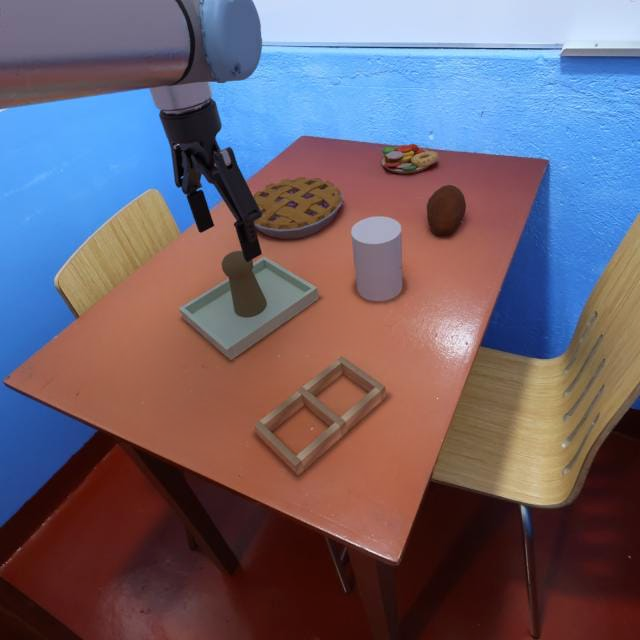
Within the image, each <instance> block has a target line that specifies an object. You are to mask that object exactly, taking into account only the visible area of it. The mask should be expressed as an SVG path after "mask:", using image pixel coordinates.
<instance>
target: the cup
mask: <svg viewBox="0 0 640 640" xmlns="http://www.w3.org/2000/svg"><path fill="white" fill-rule="evenodd" d="M350 235H351V245H352V254H353V263H354V264H353V265H354V272H355V282H356V290H357V293H358V295H359V296H360V297H361V298H363V299H365V300H367V301H370V302H385V301H390V300H392V299H394V298H396V297H397V296H399V295H400V294H401V293H402V291H403V245H402V243H403V242H402V241H403V239H402V225H401V224H400V222H399V221H398V220H396V219H394V218H392V217H389V216H378V215H377V216H376V215H375V216H369V217H366V218H363V219H361V220H359V221H357V222H356V223H355V224H354V225H353V226H352V227H351V230H350Z"/></svg>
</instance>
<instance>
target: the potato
mask: <svg viewBox="0 0 640 640" xmlns="http://www.w3.org/2000/svg"><path fill="white" fill-rule="evenodd" d="M466 210H467V203H466V197H465V195H464V194H463V192H462V191H461V189H460V188H458V187H457V186H455V185H452V184H447V185H443V186H440V187H439V188H438V189H437V190H435V191H434V192H433V194H431V196H430V197H429V198H428V201H427V203H426V218H427V223H428V225H429V227H430V229H431V230H432V231H433V233H434V234H435V235H438V236H446V235H448V234H450V233H451V232H453V231H454V230H455V229H456V228H457V227H458V225H459V224H460V223H461V221H463V217H464V216H465V214H466Z"/></svg>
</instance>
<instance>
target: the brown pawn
mask: <svg viewBox="0 0 640 640" xmlns="http://www.w3.org/2000/svg"><path fill="white" fill-rule="evenodd" d="M253 263H254V261H253V259H252V260H251V261H249V262H246V261H245V259H244V256H243V252H242V250H237V251H236V250H235V251H232V252H229V253H227V254H226V255H225V256H224V257H223V259H222V261H221V269H222V272H223V274H224V276H226V277H227V278H229V283H230V289H231V295H232V300H233V306H234V312H235V313H236V314H237V315H238V316H240V317H253V316H256V315H258V314H260V313H261V312H263V311H264V309H265V308H266V306H267V301H266V299H265V297H264V294H263V292H262V290H261V288H260V286H259V284H258V282H257V280H256V277H255V275H254V273H253V271H252V269H253Z"/></svg>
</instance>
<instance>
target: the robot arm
mask: <svg viewBox="0 0 640 640" xmlns="http://www.w3.org/2000/svg"><path fill="white" fill-rule="evenodd" d="M262 49H263V38H262V24H261V19H260V15H259V12H258V9H257V7H256V4H255V3H254V0H0V110H7V109H14V108H20V107H27V106H28V107H29V106H35V105H43V104H48V103H57V102H64V101H71V100H76V99H77V100H78V99H84V98H92V97H99V96H104V95H105V96H106V95H113V94H119V93H126V92H127V93H128V92H134V91H140V90H147V89H148V90H149V93H150V95H151V97H152V101H153V104H154V107H155V108H156V109H158V110H159V113H158V116H159V120H160V123H161V125H162V128H163V131H164V134H165V137H166V139H167V142H168V144H169V147H170V154H171V162H172V170H173V178H174V185H175V187H176V188H178V189H180V188H181V192H182V193H183V194H184V195H185V198H186V200H187V203H188V205H189V208H190V211H191V214H192V217H193V221H194V223H195V224H196V229H197V231H198V232H199V233H200V234H202V233H204V232H206V231H208V230H210V229H211V228H213V227H215V223H214V220H213V217H212V214H211V211H210V208H209V205H208V202H207V199H206V196H205V192H204V190H202V189H201V188H203V184H202V183H201V179H202V175H203V177H204V179H205V180H206V182H207V183H208V184H211V185H213V187H214V188H215V189H216V191H217V193H218V194H219V196H220V197H221V200H223V202H224V204H225V205H226V207H227V208H228V210H229V211H230V213H231V214H232V216H233V217H234V219H235V222H233V226H234V229H235V231H236V235H237V239H238V241H239V245H240V249H241V251H242V252H243V256H244V259H245V261H246V262H249V261H251V260H252V261H253V260H255V259H256V258H258V257H259V256H261V255H263V253H262V249H261V244H260V241H259V238H258V237H259V236H258V233H257V228H256V227H255V225H254V221H255V220H257V219H259V218H261V217H262V214H261V211H260V209H259V207H258V205H257V203H256V201H255V199H254V194H253V193H252V190H251V189H250V187H249V185H248V183H247V180H246V178H245V176H244V175H243V173H242V171H241V169H240V167H239V164H238V162H237V158H236V156H235V153H234V150H233V148H232V147H231V146H228V147H225V148H224V149H221V147H220V146H219V144H218V140H217V139H216V137H217V135H218V133H220V131H221V130H222V119H221V117H220V113H219V109H218V105H217V102H216V100H214V99H213V98H212V97H213V95H214V92H213V88H212V85H211V83H217V84H225V83H227V82H239V81H245V80H247V79H249V78H250V77H251V76H252V75H253V74H254V73H255V71H256V69H257V68H258V66H259V63H260V60H261V56H262Z"/></svg>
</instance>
